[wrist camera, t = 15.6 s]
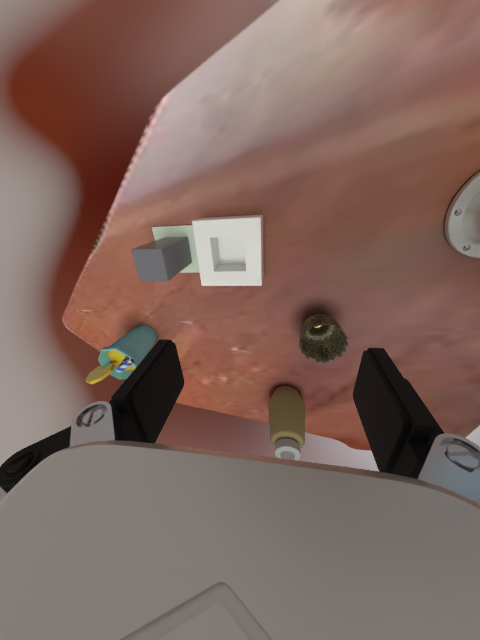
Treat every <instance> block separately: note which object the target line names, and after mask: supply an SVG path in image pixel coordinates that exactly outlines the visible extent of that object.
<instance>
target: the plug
mask: <svg viewBox="0 0 480 640" xmlns="http://www.w3.org/2000/svg"><path fill="white" fill-rule="evenodd" d="M131 251H132V254H133V258H134V262H135V265H136V269H137V272H138V276H139V280H140V281H169V280H170V279H171V278H173V277H174V276H175V275H176V274H178V273H179V272H180V271H182V270H183V269H184V268H186V267H187V266H188V265H189V264H191V263H192V259H191V252H190V246H189V239H188V237H164V238H161V239H159V240H156V241H153V242H151V243H148V244H145V245H142V246H140V247H137V248H134V249H132V250H131Z"/></svg>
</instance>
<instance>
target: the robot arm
mask: <svg viewBox="0 0 480 640" xmlns="http://www.w3.org/2000/svg"><path fill="white" fill-rule="evenodd" d="M454 212H455V213H454ZM445 235H446V239H447V241H448V243H449V244H450V246H451V247H452V248H453V249H454V250H456V251H457V252H459V253H461V254H464V255H467V256H470V257H476V258H480V171H479V172H478V173H477V174H475V175H474V176H473V177H472V178H471V179H470V180H469V181H468V182H467V183H466V184H465V185H464V186H463V187H462V188H461V189H460V191H459V192H458V193H457V194H456V196H455V198H454V199H453V201H452V203H451V204H450V207H449V209H448V212H447V214H446V219H445ZM183 386H184V378H183V374H182V370H181V366H180V361H179V357H178V353H177V349H176V345H175V343H173V342H172V341H171V340H159V341H158V342H157V343H156V344H155V346H154V347H153V348H152V349H151V350H150V352H149V353H148V354H147V355H146V356H145V358H144V359H143V360H142V361H141V362H140V364H139V365H138V366H137V367H136V368H135V370H134V371H133V372H132V373H131V374H130V376H129V377H128V378H127V379H126V380H125V382H124V383H123V384H122V385H121V386H120V388H119V389H118V390H117V391H116V392H115V394H114V395H113V396H112V397H111V398H112V399H111V401H110V402H109V403H108V402H104V401H100V402H95V403H92V404H90V405H88V406H86V407H84V408H83V409H82V410H80V411H79V412H78V413H77V414H76V415H75V417H74V419H73V421H72V424H71V426H70V427H68V428H66V429H64V430H62V431H60V432H58V433H56V434H54V435H51V436H49V437H47V438H45V439H43V440H41V441H39V442H37V443H34V444H32V445H30V446H28V447H26V448H24V449H22V450H20V451H18V452H17V453H15V454H14V455H12V456H11V457H10V458H9V459H7V460H6V461H5V462H4V463H3V464H2V466H1V467H0V640H480V447H479V446H478V445H476V444H475V443H473V442H471V441H469V440H468V439H466V438H463V437H461V436H458V435H454V434H446V433H444V432H443V431H442V429H441V428H440V426H439V425H438V423H437V422H436V421H435V419H434V418H433V416H432V415H431V413H430V412H429V410H428V409H427V407H426V406H425V404H424V403H423V402H422V400H421V399H420V397H419V396H418V394H417V393H416V391H415V390H414V388H413V387H412V385H411V384H410V383H409V381H408V380H406V379H405V378H403V376H402V375H401V373H400V372H399V370H398V369H397V367H396V366H395V364H394V363H393V361H392V360H391V358H390V357H389V355H388V354H387V352H386V351H385V350H384V349H383V348H368V350H367V351H364V352H363V355H362V359H361V363H360V367H359V371H358V375H357V379H356V383H355V387H354V391H353V399H354V402H355V405H356V408H357V411H358V413H359V416H360V419H361V422H362V425H363V427H364V430H365V433H366V436H367V439H368V441H369V444H370V447H371V450H372V453H373V456H374V458H375V461H376V464H377V467H378V469H379V471H380V472H377V471H370V470H363V469H356V468H349V467H342V466H334V465H327V464H318V463H311V462H303V461H296V460H288V459H280V458H272V457H264V456H256V455H248V454H240V453H231V452H223V451H214V450H207V449H198V448H189V447H181V446H172V445H163V444H154V443H155V442H156V439H157V438H158V436H159V434H160V432H161V430H162V428H163V426H164V424H165V422H166V420H167V418H168V416H169V414H170V412H171V410H172V408H173V406H174V404H175V402H176V400H177V398H178V396H179V394H180V392H181V390H182V388H183Z"/></svg>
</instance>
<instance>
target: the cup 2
mask: <svg viewBox="0 0 480 640" xmlns="http://www.w3.org/2000/svg"><path fill="white" fill-rule="evenodd" d="M347 340H348V337H347V335H346V334H345V332H344V331H343V330H342V328H341V327H340V326H339V324H338V323H337V322H336V321H335V320H334V319H333V318H331V317H330V316H328V315H324V314H314V315H312V316H310V317H309V318H307V319H306V320H305V322H304V323H303V325H302V327H301V332H300V342H299V344H300V349H301V352H302V354H303V355H305V356H306V358H307V359H309V358H310V357H312V358H314V359H316V361H317V362H320V361H321V362H323V363H327V362H328V361H329V360H330V359H332V360H333V361H335V359H336V355H337V356H340V357H341V356H342V353H345V351H346V347H345V346H347V347H348V343H347Z"/></svg>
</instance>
